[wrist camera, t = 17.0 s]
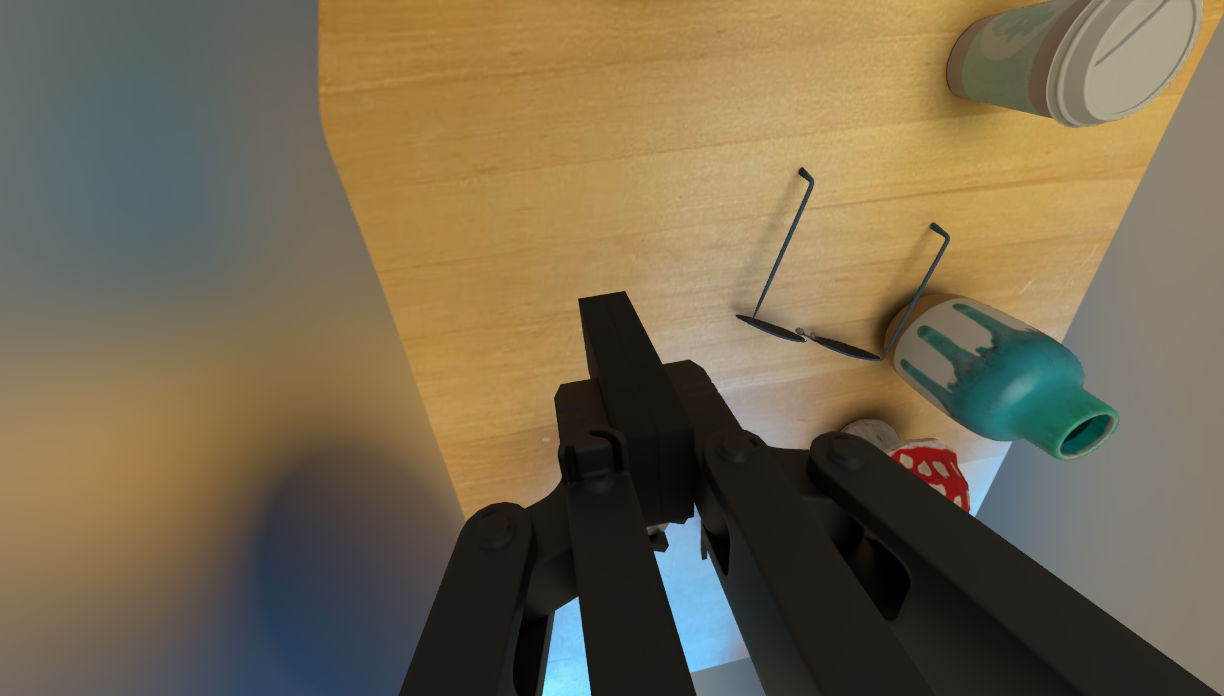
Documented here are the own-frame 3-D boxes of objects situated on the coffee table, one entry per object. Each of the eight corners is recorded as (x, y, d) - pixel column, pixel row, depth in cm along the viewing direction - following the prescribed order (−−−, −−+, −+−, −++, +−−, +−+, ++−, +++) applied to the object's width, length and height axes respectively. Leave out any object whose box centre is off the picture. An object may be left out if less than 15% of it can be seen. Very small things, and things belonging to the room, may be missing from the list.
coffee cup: (1038, -20, 37) (1239, -54, 26) (1015, 98, 41) (1179, 108, 31) (936, 13, 36) (1099, -8, 26) (925, 128, 41) (1060, 147, 31)
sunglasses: (724, 312, 47) (748, 330, 43) (786, 165, 42) (820, 167, 38) (853, 347, 53) (886, 366, 48) (920, 220, 48) (963, 228, 44)
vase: (970, 277, 51) (1185, 375, 34) (932, 359, 56) (1103, 477, 40) (884, 281, 49) (1069, 386, 33) (854, 366, 54) (999, 492, 38)
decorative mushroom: (913, 381, 57) (1027, 470, 45) (897, 459, 65) (991, 554, 52) (807, 411, 57) (893, 509, 44) (804, 486, 64) (875, 589, 51)
